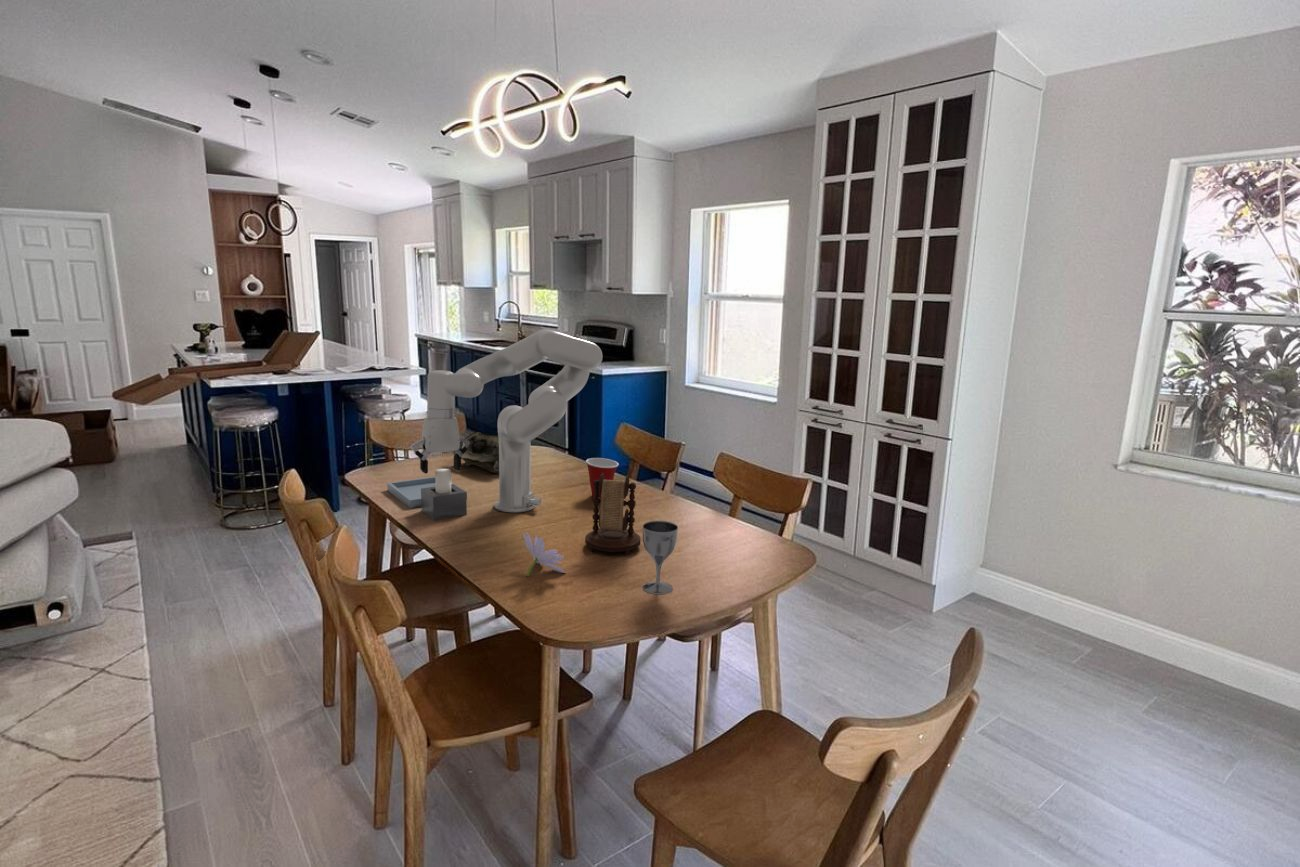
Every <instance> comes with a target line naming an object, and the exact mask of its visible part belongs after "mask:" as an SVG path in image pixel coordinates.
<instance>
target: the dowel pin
mask: <svg viewBox="0 0 1300 867" xmlns="http://www.w3.org/2000/svg"><path fill="white" fill-rule="evenodd" d="M434 477H435V488H436V494H443V493H449V492H451V482H452V470H451V469H450V468H438V469H435V471H434Z"/></svg>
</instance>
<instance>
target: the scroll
mask: <svg viewBox="0 0 1300 867" xmlns="http://www.w3.org/2000/svg"><path fill="white" fill-rule="evenodd" d="M593 485H594V486H595V487H594V489H595V491H594V496H595V497H593V496H592V497H593V498H592V504H593V506H594V508H593V510H592V512H593V514H592V520H593V521H592V523H593V525H592V531H590V532H588V533H586V535H585V536H584V537H585V539H584V543H585V545H586V546H587V547H589V551H590V552H593V551H594V550H597V551H601V552H602V551H603V552H608V553H613V552H614V553H617V552H624V553H625V555H626V556H628V555H629V553H630V551H631V550H634V549H637V548H638V547H639V546H640V545H641V539H642V538H641V536H640V535H639V534H638V533H636V532H635V529H634V527H633V526H634V525H635V524H634V523H635V522H636V518H635V517H634V516H635V512H634V511H635V510H634V509H635V507H636V500H635V498H636V497H635V496H636V495H635V492H636V490H635V489H636V488H637V485H636V483H635V482H631V483H630V476H629V475H628V474H627V475H626V476H625V479H624V480H617V479H616V480H614V479H613V480H605V479H604V474H603V473H602V474H601V476H600V480H595V481H594V482H593ZM598 489H599V490H598ZM599 493H600V494H601V499H600V498H599ZM628 495H629V496H628ZM627 496H628V498H629V500H626V499H627ZM599 506H600V508H599ZM626 506H627V507H628V508H626V509H625V512H624V507H626Z"/></svg>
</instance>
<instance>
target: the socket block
mask: <svg viewBox="0 0 1300 867" xmlns="http://www.w3.org/2000/svg"><path fill="white" fill-rule="evenodd" d="M454 484H455V483H453V484H451V492H449V493H443V494H436V488H435V487H428V488H421V507H420V508H421V512H422V513H423V514H425V515H426V516H428V517H429V518H430V519H431V520H433V521H439V520H443V519H450V518H454V517H459V516H460V517H461V516H466V515H467V514H468V512H467V507H468V506H467V499H466V492H467V491H466V490H465V489H463V488H461V487H460V486H458V485H457V484H455V485H454ZM456 485H457V486H458V487H457V486H456ZM459 487H460V488H459ZM462 489H463V490H462ZM464 490H465V491H466V492H465V491H464Z"/></svg>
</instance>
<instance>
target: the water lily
mask: <svg viewBox="0 0 1300 867" xmlns="http://www.w3.org/2000/svg"><path fill="white" fill-rule="evenodd" d="M522 536H523V539H524V544H525V546H526V548H527V550H528V552H529V553H530V554H531V555H532V556H533V558H532V559H533V562H532V564H531V565H530V567H529V569H528V571H527V573H526V577H530V575H531V572H532V570H533V568H534V567H535V565H536V563H537V564H542V565H544V566H546V568H549V569H551V570H552V571H555V572H558V573H562V574H566V571H564V569H563V568H561V567H560V566H557V565H559V564H563V562H561V561H560V560H562V559H564V558H565V556H564V555H561V554H559V553H558V552H559V550H558V549H554V548H553V549H549V550H545V547H546V544H545V541H544V539H543V537H538V534H535V536H534V543H533V541H532V539H531V536H530V534H529V533H528V532H526V534H525V533H524V532H523V531H522Z"/></svg>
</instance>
